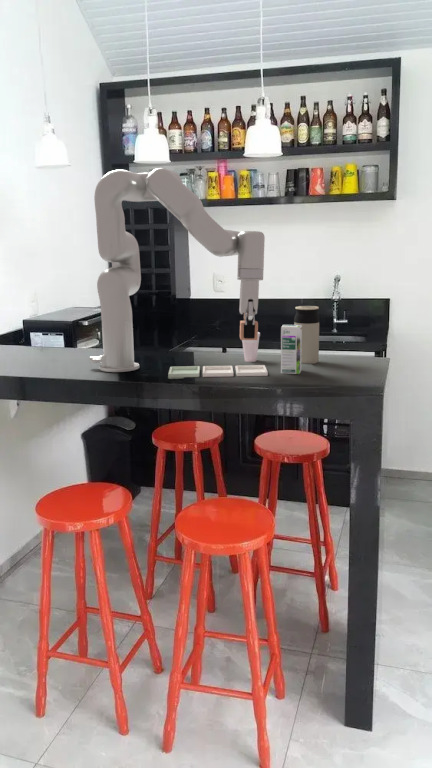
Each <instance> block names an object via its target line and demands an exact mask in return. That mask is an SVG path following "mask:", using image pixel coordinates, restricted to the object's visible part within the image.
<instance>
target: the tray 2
mask: <svg viewBox="0 0 432 768" xmlns="http://www.w3.org/2000/svg"><path fill="white" fill-rule="evenodd" d="M234 374H235V373H234V369H233V365H203V366H202V378H211V377H212V378H213V377H220V378H221V377H234Z"/></svg>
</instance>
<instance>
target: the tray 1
mask: <svg viewBox="0 0 432 768" xmlns="http://www.w3.org/2000/svg"><path fill="white" fill-rule="evenodd" d="M200 368H201V366H200V365H191V366H190V365H189V366H188V365H187V366H170V367H169V370H168V374H167V375H168V376H167V379H169V380H174V379H175V380H179V379H180V380H183V379H184V378H200V372H201V371H200V370H201V369H200Z"/></svg>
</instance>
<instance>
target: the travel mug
mask: <svg viewBox="0 0 432 768" xmlns="http://www.w3.org/2000/svg"><path fill="white" fill-rule="evenodd" d="M319 307H320V306H316V305H299V306H295V311H296V314H295V315H294V320H293V323H294V324H293V325H302V354H301V364H311V365H315V364H317V363H319V359H320V358H319V355H320V353H319V352H320V350H319V349H320V316H319V314H318V311H319V309H320V308H319Z"/></svg>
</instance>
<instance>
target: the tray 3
mask: <svg viewBox="0 0 432 768" xmlns="http://www.w3.org/2000/svg"><path fill="white" fill-rule="evenodd" d="M234 369H235V374H236V377H268V375H269V373H268V370H267V367H266V365H265V364H258V365H257V364H255V365H254V364H250V365H249V364H248V365H235V368H234Z"/></svg>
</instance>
